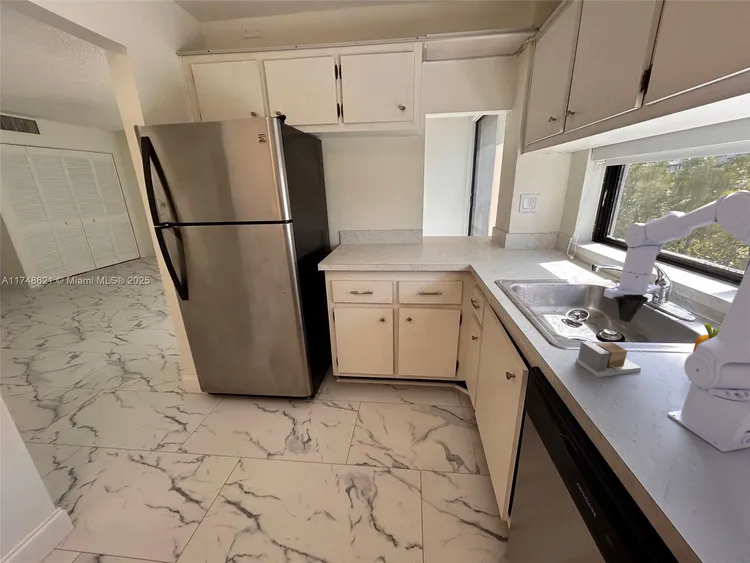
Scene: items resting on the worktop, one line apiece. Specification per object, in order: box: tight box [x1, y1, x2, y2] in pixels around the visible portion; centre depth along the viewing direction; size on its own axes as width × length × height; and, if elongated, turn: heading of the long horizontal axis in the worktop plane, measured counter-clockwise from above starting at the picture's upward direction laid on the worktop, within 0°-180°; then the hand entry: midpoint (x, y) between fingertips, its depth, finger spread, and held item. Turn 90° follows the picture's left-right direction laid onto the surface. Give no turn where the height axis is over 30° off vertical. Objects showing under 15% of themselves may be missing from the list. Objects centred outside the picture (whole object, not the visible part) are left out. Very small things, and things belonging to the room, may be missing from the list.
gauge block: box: [596, 341, 628, 371], centre depth 78 cm, size 6×6×4 cm
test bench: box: [575, 340, 642, 378], centre depth 79 cm, size 7×12×6 cm, turn 99°
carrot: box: [692, 322, 720, 353], centre depth 71 cm, size 5×5×15 cm
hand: (624, 320), depth 82 cm, fingers closed
